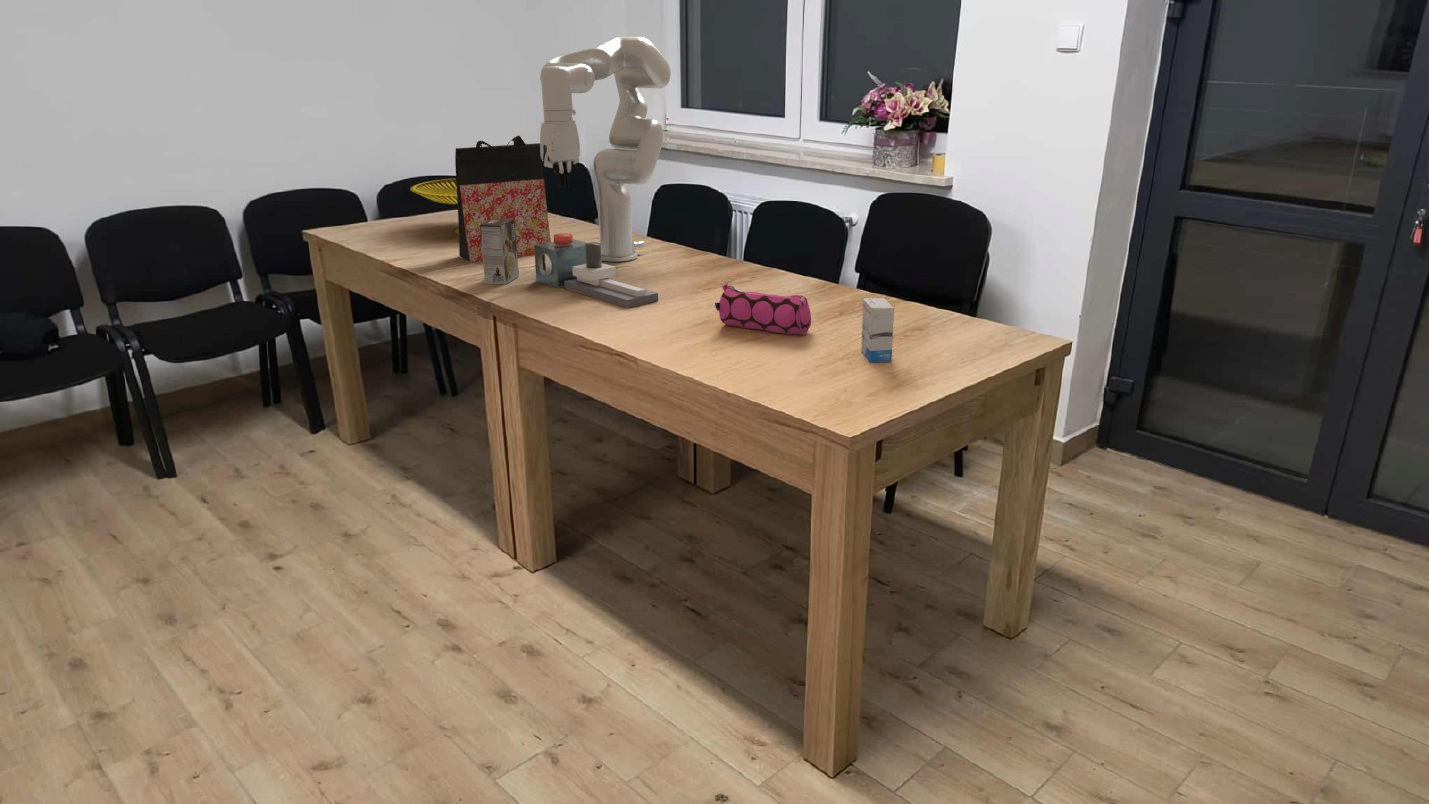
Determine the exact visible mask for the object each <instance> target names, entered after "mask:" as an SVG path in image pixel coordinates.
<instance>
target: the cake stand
mask: <svg viewBox="0 0 1429 804" xmlns="http://www.w3.org/2000/svg"><path fill="white" fill-rule="evenodd" d="M410 192H412V193H414V194H417V195H418V196H419V195H420V196H421V197H423V198H426V199H428V200H430V201H432V202H436V203H438V204H439V203H441V204H448V205H458V203H457V185H456V178H446V179H436V180H431V181H424V182H420V183H417V184H414V185H412V186H411V187H410ZM454 232H455V233H456V234H457V235H459V228H457V229H455V231H454Z"/></svg>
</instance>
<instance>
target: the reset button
mask: <svg viewBox="0 0 1429 804" xmlns="http://www.w3.org/2000/svg"><path fill="white" fill-rule="evenodd" d="M553 242H554V243H555V244H560V245H565V244H571V243H573V234H572V233H555V234H553Z"/></svg>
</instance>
